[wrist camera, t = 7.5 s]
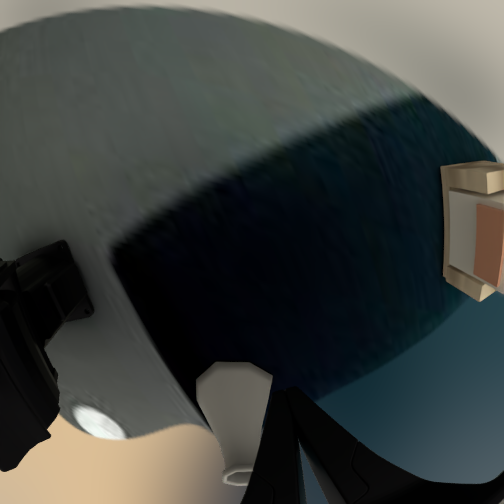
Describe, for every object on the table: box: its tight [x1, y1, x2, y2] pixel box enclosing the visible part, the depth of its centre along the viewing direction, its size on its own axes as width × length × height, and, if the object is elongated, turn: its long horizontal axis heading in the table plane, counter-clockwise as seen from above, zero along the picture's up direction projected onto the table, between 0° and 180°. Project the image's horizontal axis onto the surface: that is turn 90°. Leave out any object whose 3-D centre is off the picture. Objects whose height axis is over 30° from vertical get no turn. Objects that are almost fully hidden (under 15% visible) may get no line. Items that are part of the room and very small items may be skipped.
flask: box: [196, 362, 273, 486], centre depth 18 cm, size 7×7×10 cm
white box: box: [449, 188, 504, 294], centre depth 16 cm, size 5×7×9 cm
